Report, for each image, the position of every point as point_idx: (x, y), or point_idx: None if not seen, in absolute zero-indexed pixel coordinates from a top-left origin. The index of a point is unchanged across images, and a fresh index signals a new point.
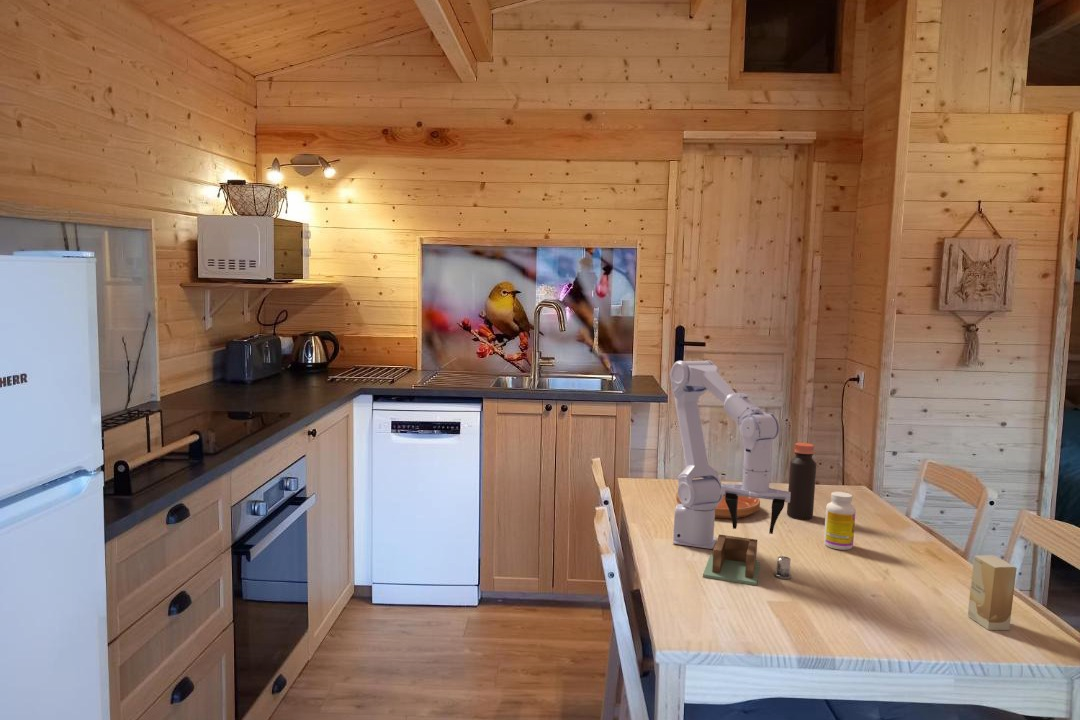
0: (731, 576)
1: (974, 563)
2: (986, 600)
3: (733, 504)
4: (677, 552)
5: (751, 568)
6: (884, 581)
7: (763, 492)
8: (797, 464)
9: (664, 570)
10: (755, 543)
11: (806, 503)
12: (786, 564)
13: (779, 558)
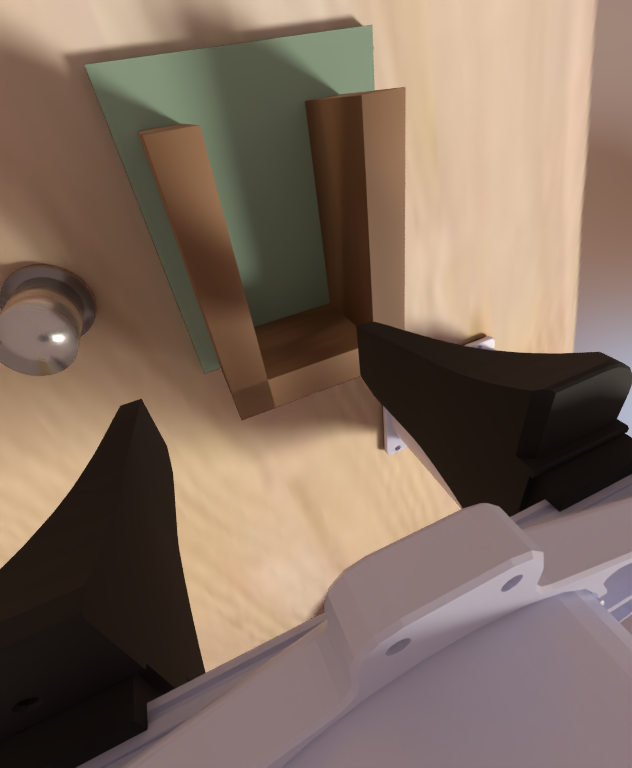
0: (242, 88)
1: None
2: None
3: (515, 374)
4: (475, 277)
5: (151, 130)
6: None
7: (293, 755)
8: None
9: (520, 19)
10: (229, 366)
11: None
12: (2, 310)
13: (56, 325)
